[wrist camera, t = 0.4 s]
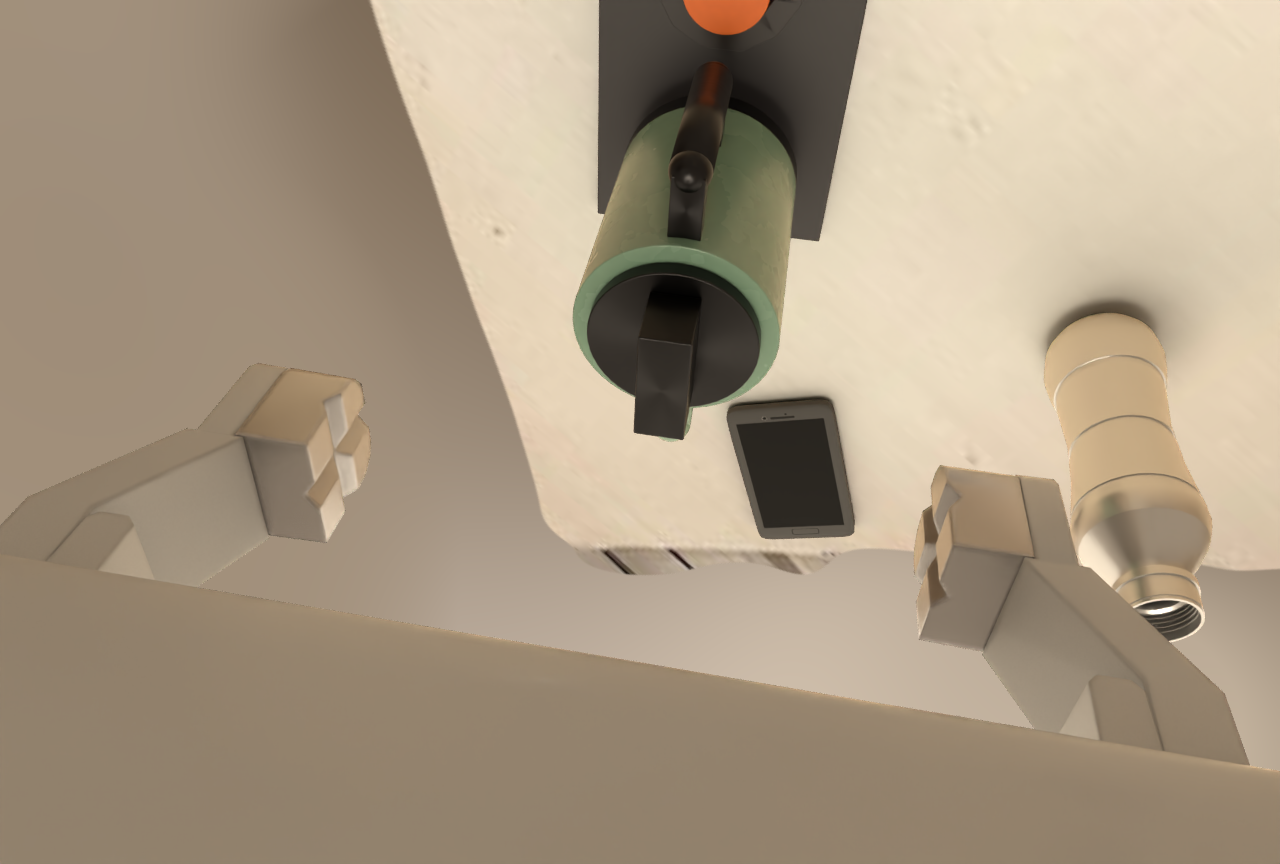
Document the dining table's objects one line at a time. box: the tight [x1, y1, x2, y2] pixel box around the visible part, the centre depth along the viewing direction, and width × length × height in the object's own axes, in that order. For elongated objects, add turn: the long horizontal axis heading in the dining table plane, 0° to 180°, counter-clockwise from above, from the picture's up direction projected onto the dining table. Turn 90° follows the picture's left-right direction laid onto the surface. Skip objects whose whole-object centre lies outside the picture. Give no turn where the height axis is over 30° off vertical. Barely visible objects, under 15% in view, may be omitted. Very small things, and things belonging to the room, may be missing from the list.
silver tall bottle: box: [1044, 313, 1212, 642], centre depth 53 cm, size 6×7×20 cm
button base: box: [598, 0, 867, 241], centre depth 50 cm, size 18×13×3 cm
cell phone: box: [727, 400, 854, 539], centre depth 71 cm, size 7×14×1 cm, turn 16°
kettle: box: [573, 61, 797, 442], centre depth 47 cm, size 17×9×17 cm, turn 178°
